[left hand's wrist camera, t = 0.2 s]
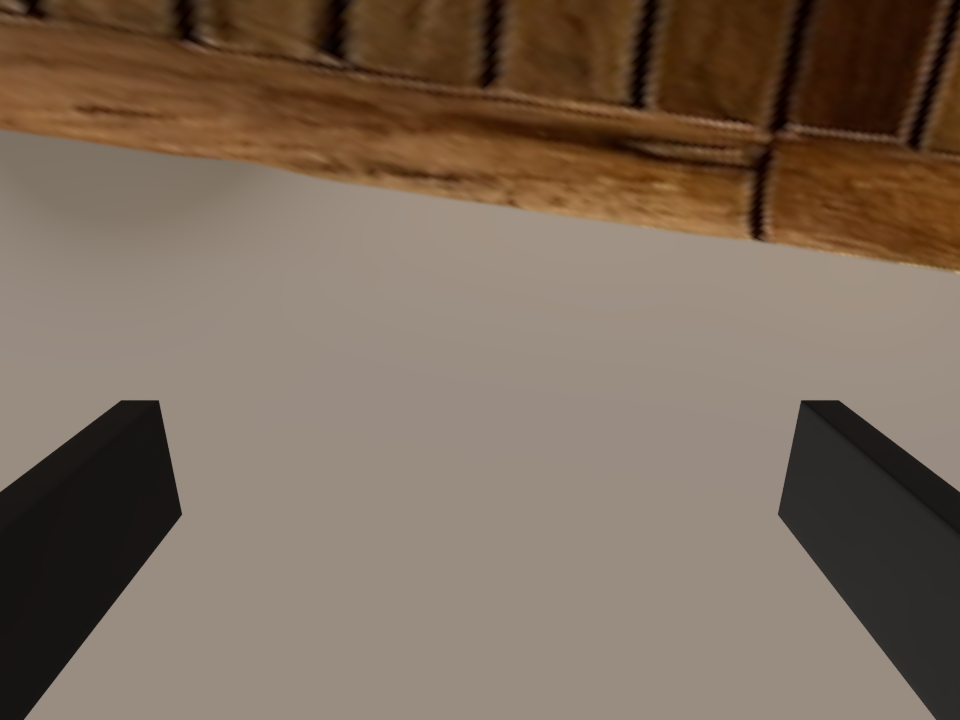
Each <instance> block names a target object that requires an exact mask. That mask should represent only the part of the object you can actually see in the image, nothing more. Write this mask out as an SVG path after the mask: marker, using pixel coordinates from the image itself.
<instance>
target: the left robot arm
mask: <svg viewBox="0 0 960 720" xmlns="http://www.w3.org/2000/svg"><path fill="white" fill-rule="evenodd" d="M181 515H182V512H181V507H180V502H179V497H178V492H177V487H176V482H175V478H174V473H173V468H172V463H171V458H170V453H169V448H168V443H167V439H166V434H165V429H164V424H163V419H162V414H161V409H160V404H159V401H158V400H121V401H120V402H119V403H117V404H116V405H115V406H113V407H112V408H111V409H109V410H108V411H107V412H105V413H104V414H103V415H101V416H100V417H99V418H97V419H96V420H95V421H93V422H92V423H91V424H90V425H88V426H87V427H86V428H84V429H83V430H82V431H80V432H79V433H78V434H76V435H75V436H74V437H72V438H71V439H70V440H68V441H67V442H66V443H64V444H63V445H62V446H61V447H59V448H58V449H57V450H55V451H54V452H53V453H51V454H50V455H49V456H47V457H46V458H45V459H43V460H42V461H41V462H39V463H38V464H37V465H36V466H34V467H33V468H32V469H30V470H29V471H28V472H26V473H25V474H24V475H22V476H21V477H20V478H18V479H17V480H16V481H14V482H13V483H12V484H10V485H9V486H8V487H7V488H5V489H4V490H3V491H1V492H0V720H24V719H25V717H26V716H27V715H28V714H29V712H30V711H31V710H32V708H33V707H34V706H35V704H36V703H37V702H38V701H39V699H40V698H41V697H42V695H43V694H44V693H45V692H46V690H47V689H48V688H49V686H50V685H51V684H52V682H53V681H54V680H55V679H56V677H57V676H58V675H59V673H60V672H61V671H62V670H63V668H64V667H65V666H66V664H67V663H68V662H69V660H70V659H71V658H72V657H73V655H74V654H75V653H76V651H77V650H78V649H79V647H80V646H81V645H82V644H83V642H84V641H85V640H86V638H87V637H88V636H89V635H90V633H91V632H92V631H93V629H94V628H95V627H96V625H97V624H98V623H99V622H100V620H101V619H102V618H103V616H104V615H105V614H106V612H107V611H108V610H109V609H110V607H111V606H112V605H113V603H114V602H115V601H116V600H117V598H118V597H119V596H120V594H121V593H122V592H123V590H124V589H125V588H126V587H127V585H128V584H129V583H130V581H131V580H132V579H133V577H134V576H135V575H136V574H137V572H138V571H139V570H140V568H141V567H142V566H143V565H144V563H145V562H146V561H147V559H148V558H149V557H150V555H151V554H152V553H153V552H154V550H155V549H156V548H157V546H158V545H159V544H160V542H161V541H162V540H163V539H164V537H165V536H166V535H167V533H168V532H169V531H170V530H171V528H172V527H173V526H174V524H175V523H176V522H177V520H178V519H179V518H180V516H181ZM778 515H779V517H780V518H781V519H782V520H783V522H784V523H785V524H786V525H787V527H788V528H789V530H790V531H791V532H792V533H793V535H794V536H795V537H796V539H797V540H798V541H799V542H800V544H801V545H802V546H803V548H804V549H805V550H806V551H807V553H808V554H809V555H810V557H811V558H812V559H813V561H814V562H815V563H816V564H817V566H818V567H819V568H820V570H821V571H822V572H823V574H824V575H825V576H826V577H827V579H828V580H829V581H830V583H831V584H832V585H833V587H834V588H835V589H836V590H837V592H838V593H839V594H840V596H841V597H842V598H843V600H844V601H845V602H846V603H847V605H848V606H849V607H850V609H851V610H852V611H853V612H854V614H855V615H856V616H857V618H858V619H859V620H860V622H861V623H862V624H863V625H864V627H865V628H866V629H867V631H868V632H869V633H870V634H871V636H872V637H873V638H874V640H875V641H876V642H877V644H878V645H879V646H880V647H881V649H882V650H883V651H884V653H885V654H886V655H887V657H888V658H889V659H890V660H891V662H892V663H893V664H894V666H895V667H896V668H897V670H898V671H899V672H900V673H901V675H902V676H903V677H904V679H905V680H906V681H907V682H908V684H909V685H910V686H911V688H912V689H913V690H914V691H915V693H916V694H917V695H918V697H919V698H920V699H921V701H922V702H923V703H924V705H925V706H926V707H927V708H928V710H929V711H930V712H931V713H932V715H933V716H934V717H935V719H936V720H960V492H959V491H957V490H956V489H955V488H954V487H952V486H951V485H950V484H948V483H947V482H946V481H944V480H943V479H942V478H940V477H939V476H938V475H936V474H935V473H934V472H932V471H931V470H930V469H928V468H927V467H926V466H925V465H923V464H922V463H921V462H919V461H918V460H917V459H915V458H914V457H913V456H911V455H910V454H909V453H907V452H906V451H905V450H903V449H902V448H901V447H899V446H898V445H897V444H896V443H894V442H893V441H892V440H890V439H889V438H888V437H886V436H885V435H884V434H882V433H881V432H880V431H878V430H877V429H876V428H874V427H873V426H872V425H870V424H869V423H868V422H867V421H865V420H864V419H863V418H861V417H860V416H859V415H857V414H856V413H855V412H853V411H852V410H851V409H849V408H848V407H847V406H845V405H844V404H843V403H841V402H840V401H839V400H802V401H801V404H800V409H799V414H798V419H797V424H796V429H795V434H794V438H793V444H792V448H791V453H790V458H789V463H788V468H787V473H786V478H785V482H784V488H783V492H782V497H781V502H780V507H779V512H778Z"/></svg>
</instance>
